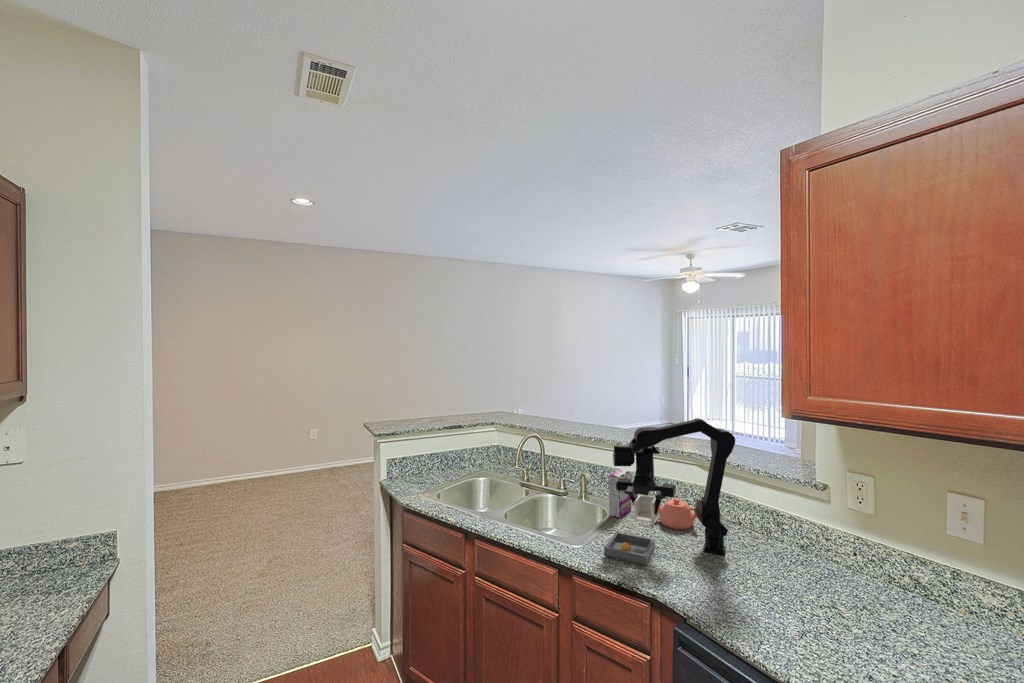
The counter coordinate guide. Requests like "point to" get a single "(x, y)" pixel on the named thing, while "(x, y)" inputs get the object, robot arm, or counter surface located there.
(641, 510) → the white open holder
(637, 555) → the tray
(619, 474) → the candy bar box
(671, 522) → the teapot
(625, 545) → the ball
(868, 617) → the counter surface
